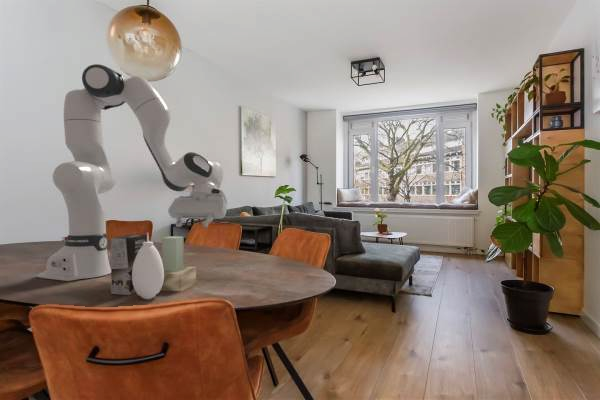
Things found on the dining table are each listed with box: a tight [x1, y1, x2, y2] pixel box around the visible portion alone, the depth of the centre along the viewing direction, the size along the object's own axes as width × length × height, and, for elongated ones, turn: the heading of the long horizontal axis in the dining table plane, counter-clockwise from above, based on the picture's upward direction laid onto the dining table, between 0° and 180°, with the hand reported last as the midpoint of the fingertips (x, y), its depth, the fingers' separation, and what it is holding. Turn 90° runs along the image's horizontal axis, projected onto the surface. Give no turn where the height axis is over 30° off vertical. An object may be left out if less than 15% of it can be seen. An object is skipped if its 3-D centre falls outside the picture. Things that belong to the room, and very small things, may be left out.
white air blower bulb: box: [132, 232, 164, 300], centre depth 94 cm, size 8×8×18 cm
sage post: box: [161, 235, 185, 272], centre depth 107 cm, size 4×4×10 cm
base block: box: [160, 266, 197, 292], centre depth 107 cm, size 10×10×5 cm
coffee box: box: [110, 233, 147, 296], centre depth 102 cm, size 9×6×16 cm
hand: (191, 225), depth 119 cm, fingers open, 8 cm apart
